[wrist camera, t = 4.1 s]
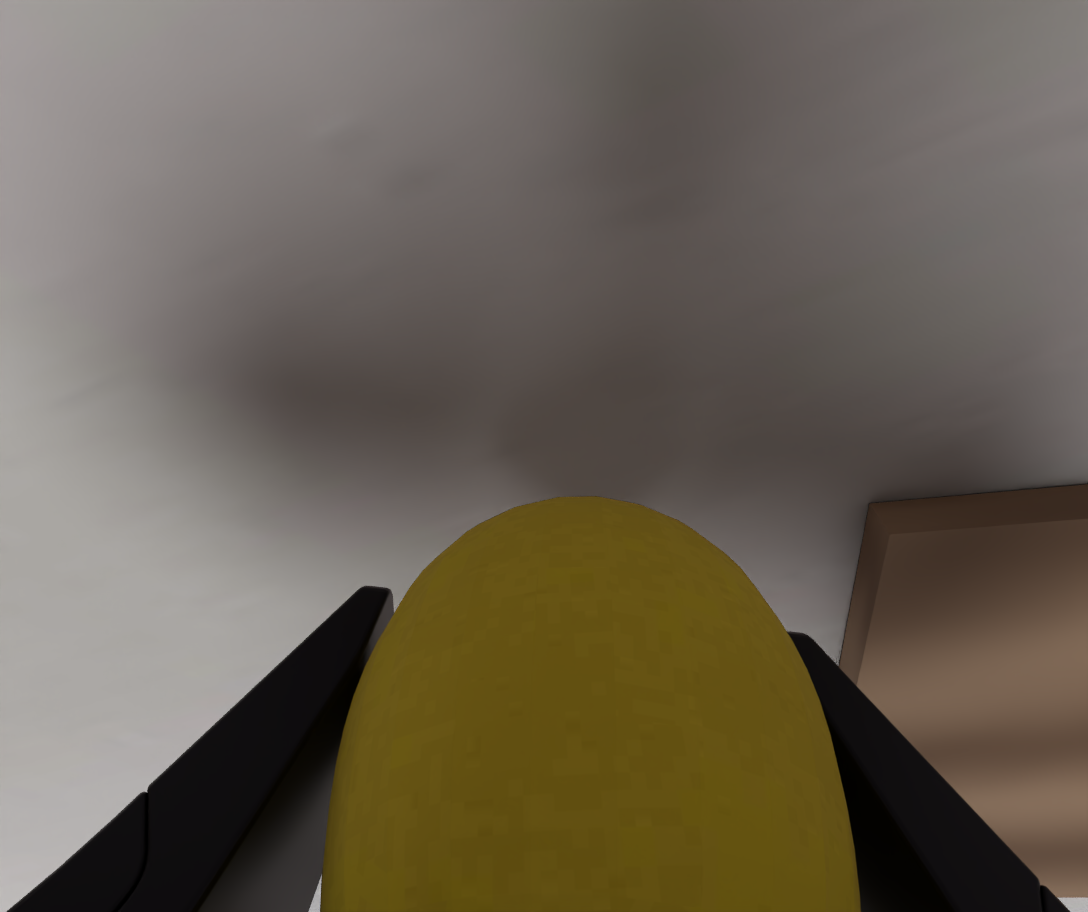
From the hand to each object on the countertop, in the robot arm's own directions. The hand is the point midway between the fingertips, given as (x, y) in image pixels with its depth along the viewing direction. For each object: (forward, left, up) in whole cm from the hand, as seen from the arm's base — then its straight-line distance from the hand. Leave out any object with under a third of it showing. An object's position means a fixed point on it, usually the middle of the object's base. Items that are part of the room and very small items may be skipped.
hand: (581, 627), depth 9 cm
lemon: (0, 0, -2) cm, 2 cm away
